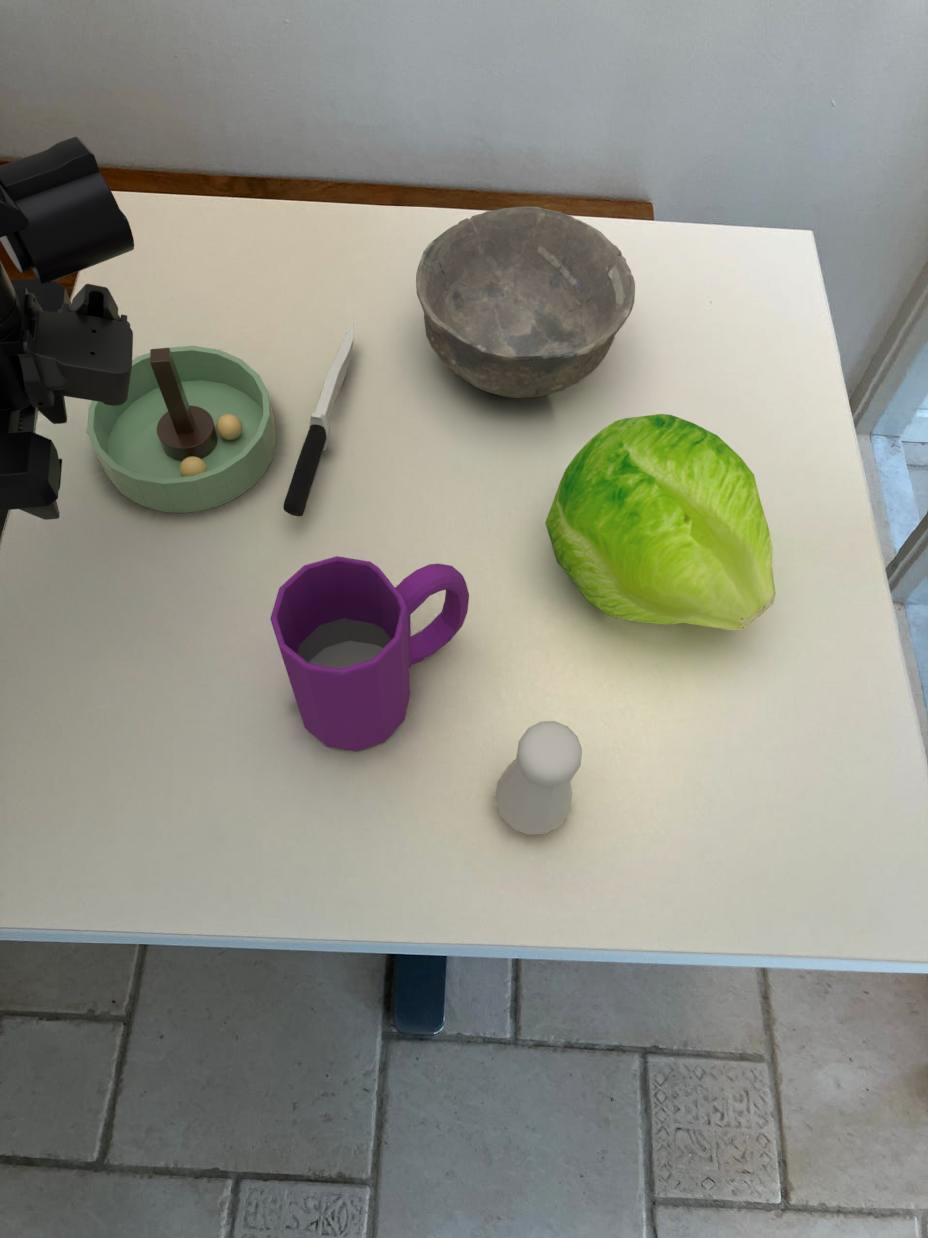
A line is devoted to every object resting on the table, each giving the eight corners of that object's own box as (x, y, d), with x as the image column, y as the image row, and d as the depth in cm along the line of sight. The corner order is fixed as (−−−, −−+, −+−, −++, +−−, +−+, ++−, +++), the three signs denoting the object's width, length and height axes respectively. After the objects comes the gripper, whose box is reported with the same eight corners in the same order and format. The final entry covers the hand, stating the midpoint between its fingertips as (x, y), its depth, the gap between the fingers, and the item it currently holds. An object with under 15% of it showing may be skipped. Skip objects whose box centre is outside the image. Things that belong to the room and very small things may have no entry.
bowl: (467, 262, 98) (472, 180, 89) (642, 324, 94) (665, 244, 86) (381, 389, 89) (376, 310, 80) (572, 462, 85) (589, 388, 76)
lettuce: (657, 709, 75) (705, 656, 61) (503, 543, 81) (515, 459, 66) (790, 594, 79) (865, 518, 65) (636, 442, 84) (673, 342, 70)
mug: (276, 688, 73) (243, 597, 59) (430, 594, 77) (432, 491, 64) (336, 776, 69) (316, 700, 56) (494, 672, 74) (509, 579, 61)
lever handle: (161, 464, 82) (126, 380, 73) (162, 421, 85) (128, 334, 75) (218, 459, 83) (191, 375, 73) (217, 417, 85) (191, 330, 76)
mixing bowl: (98, 521, 80) (81, 490, 76) (107, 386, 87) (92, 352, 83) (280, 504, 81) (272, 474, 77) (273, 373, 89) (265, 340, 85)
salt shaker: (481, 824, 68) (493, 769, 56) (508, 759, 71) (524, 693, 59) (553, 854, 67) (579, 803, 56) (577, 786, 70) (607, 725, 58)
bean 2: (219, 424, 81) (245, 430, 82) (219, 405, 83) (245, 412, 84) (213, 441, 83) (238, 447, 84) (213, 423, 84) (238, 429, 85)
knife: (346, 338, 92) (343, 300, 87) (363, 340, 92) (360, 302, 87) (285, 536, 80) (277, 503, 75) (305, 539, 80) (298, 506, 75)
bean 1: (175, 480, 81) (177, 473, 79) (183, 456, 82) (185, 449, 80) (200, 489, 82) (203, 482, 80) (209, 466, 83) (211, 458, 80)
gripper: (98, 409, 50) (165, 560, 64) (110, 198, 59) (166, 370, 72) (-112, 425, 49) (2, 576, 62) (-67, 206, 57) (24, 380, 71)
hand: (56, 468), depth 67 cm, fingers open, 9 cm apart
